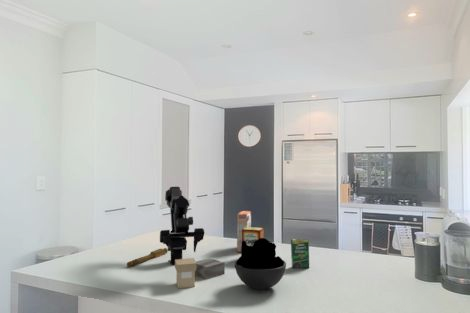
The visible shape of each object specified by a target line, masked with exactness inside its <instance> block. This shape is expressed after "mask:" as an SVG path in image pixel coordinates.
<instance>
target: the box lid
mask: <svg viewBox="0 0 470 313" xmlns="http://www.w3.org/2000/svg"><path fill="white" fill-rule="evenodd" d="M174 267H175V271H176V274H177V273H178V272H189V271H196V260H195V258H182V259H176V260H175V264H174Z"/></svg>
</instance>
